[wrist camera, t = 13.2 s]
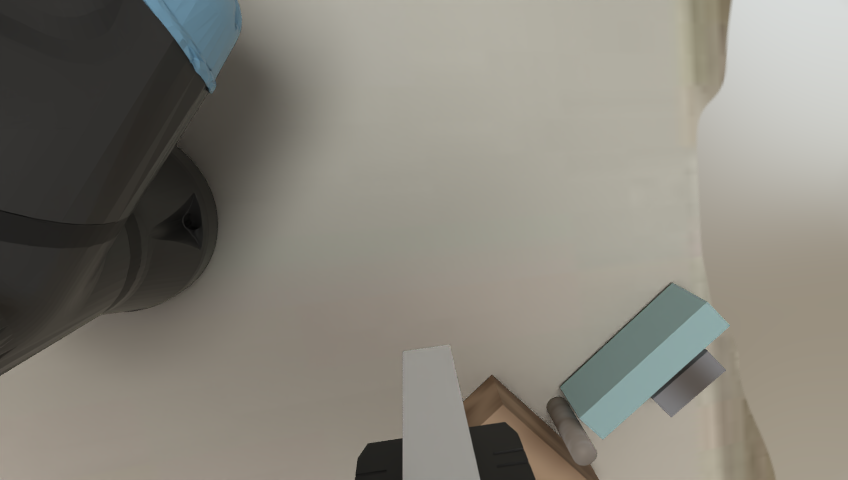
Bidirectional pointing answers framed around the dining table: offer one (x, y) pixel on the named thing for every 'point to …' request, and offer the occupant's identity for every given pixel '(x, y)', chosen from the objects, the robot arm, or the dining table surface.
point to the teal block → (642, 358)
